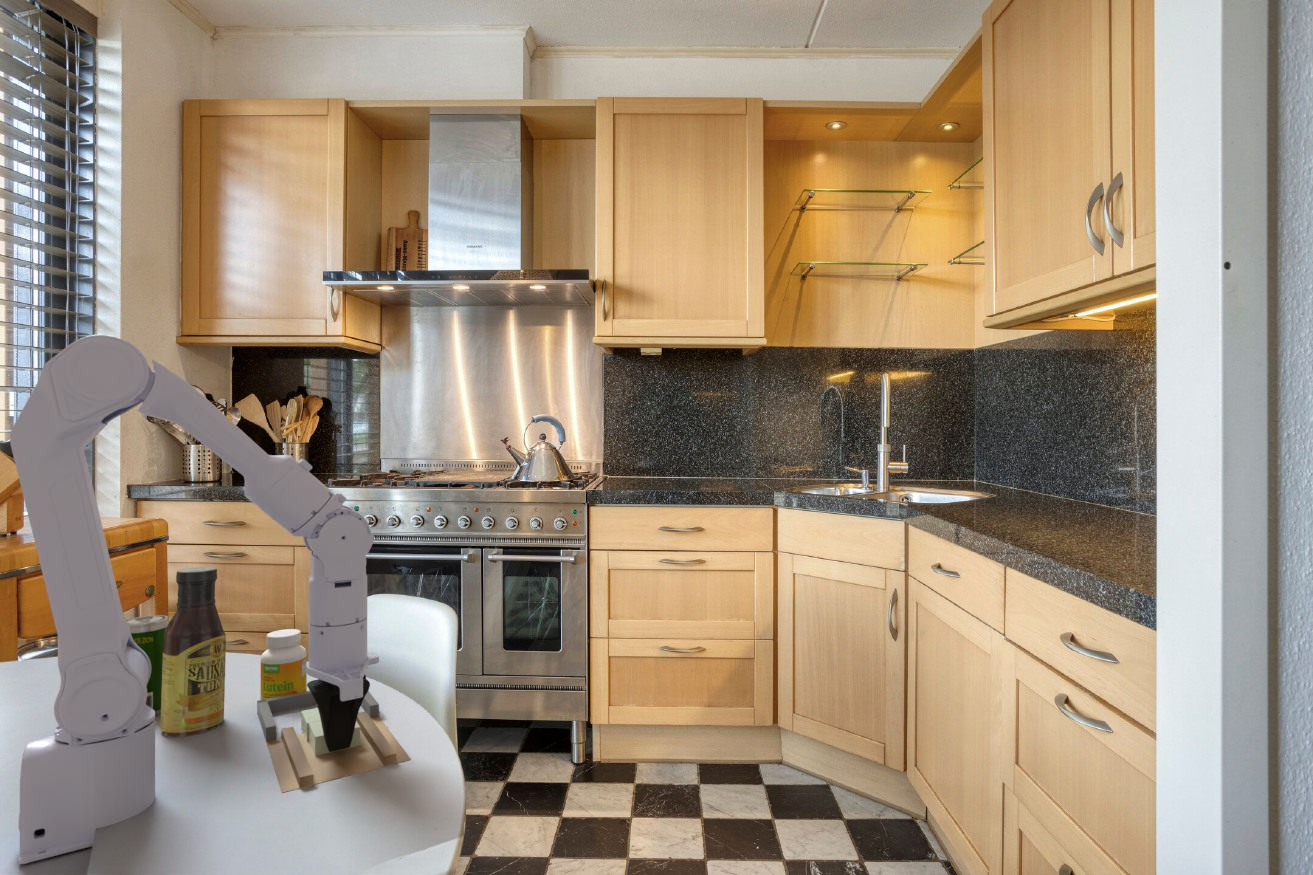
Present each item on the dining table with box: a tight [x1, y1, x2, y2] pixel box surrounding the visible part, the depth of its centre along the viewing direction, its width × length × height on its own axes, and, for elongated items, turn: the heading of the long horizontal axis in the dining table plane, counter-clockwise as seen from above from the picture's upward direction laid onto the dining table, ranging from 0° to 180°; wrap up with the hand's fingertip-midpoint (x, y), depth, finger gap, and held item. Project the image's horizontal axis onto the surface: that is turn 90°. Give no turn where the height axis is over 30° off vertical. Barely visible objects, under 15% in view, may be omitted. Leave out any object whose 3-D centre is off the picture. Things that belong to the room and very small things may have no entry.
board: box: [265, 710, 412, 794], centre depth 75 cm, size 12×14×2 cm
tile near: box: [309, 721, 360, 756], centre depth 77 cm, size 4×4×2 cm
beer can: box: [126, 614, 170, 717], centre depth 90 cm, size 5×5×12 cm
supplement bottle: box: [259, 628, 308, 700], centre depth 92 cm, size 5×5×10 cm
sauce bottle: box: [159, 566, 227, 738], centre depth 82 cm, size 7×6×20 cm
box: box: [256, 690, 380, 742], centre depth 85 cm, size 12×10×3 cm
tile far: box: [300, 707, 321, 741], centre depth 81 cm, size 4×4×2 cm
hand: (338, 747), depth 74 cm, fingers closed
